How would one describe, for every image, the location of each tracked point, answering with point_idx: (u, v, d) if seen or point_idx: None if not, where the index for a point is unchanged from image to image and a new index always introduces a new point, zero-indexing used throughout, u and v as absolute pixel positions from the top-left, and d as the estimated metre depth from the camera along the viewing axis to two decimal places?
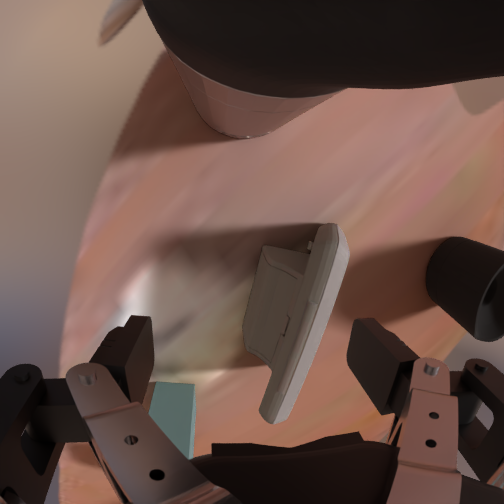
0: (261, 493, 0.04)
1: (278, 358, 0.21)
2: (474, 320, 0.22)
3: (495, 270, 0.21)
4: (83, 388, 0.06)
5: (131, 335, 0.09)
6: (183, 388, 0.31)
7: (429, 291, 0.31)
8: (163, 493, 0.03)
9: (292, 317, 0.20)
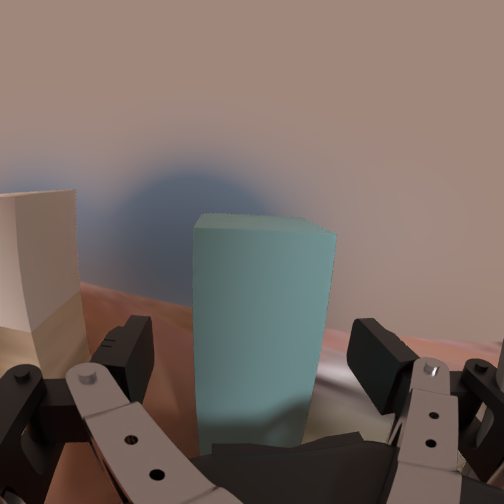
0: (261, 493, 0.04)
1: None
2: None
3: None
4: (83, 388, 0.06)
5: (131, 335, 0.09)
6: None
7: None
8: (163, 493, 0.03)
9: None
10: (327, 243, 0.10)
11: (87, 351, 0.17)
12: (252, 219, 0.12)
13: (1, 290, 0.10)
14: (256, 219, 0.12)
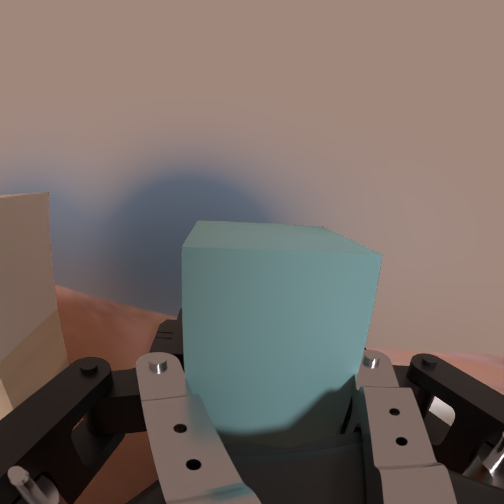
0: (261, 493, 0.04)
1: None
2: None
3: None
4: (158, 376, 0.07)
5: None
6: None
7: None
8: (193, 482, 0.03)
9: None
10: (369, 267, 0.07)
11: None
12: (263, 230, 0.09)
13: None
14: (268, 230, 0.09)
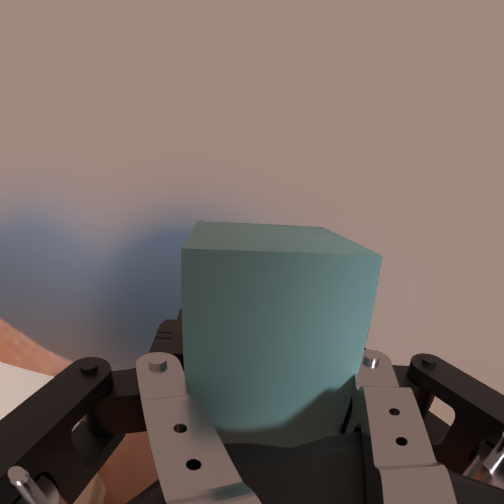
0: (261, 493, 0.04)
1: None
2: None
3: None
4: (158, 376, 0.07)
5: None
6: None
7: None
8: (193, 482, 0.03)
9: None
10: (369, 268, 0.07)
11: (100, 481, 0.16)
12: (262, 231, 0.09)
13: None
14: (267, 231, 0.09)
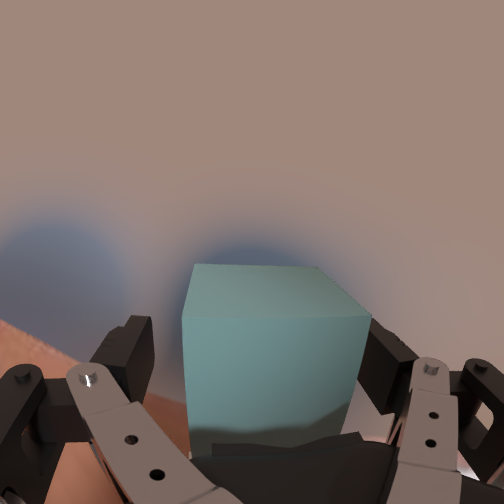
0: (261, 493, 0.04)
1: None
2: None
3: None
4: (84, 388, 0.06)
5: (131, 335, 0.09)
6: None
7: None
8: (164, 493, 0.03)
9: None
10: (359, 327, 0.07)
11: None
12: (258, 280, 0.09)
13: None
14: (263, 279, 0.09)
